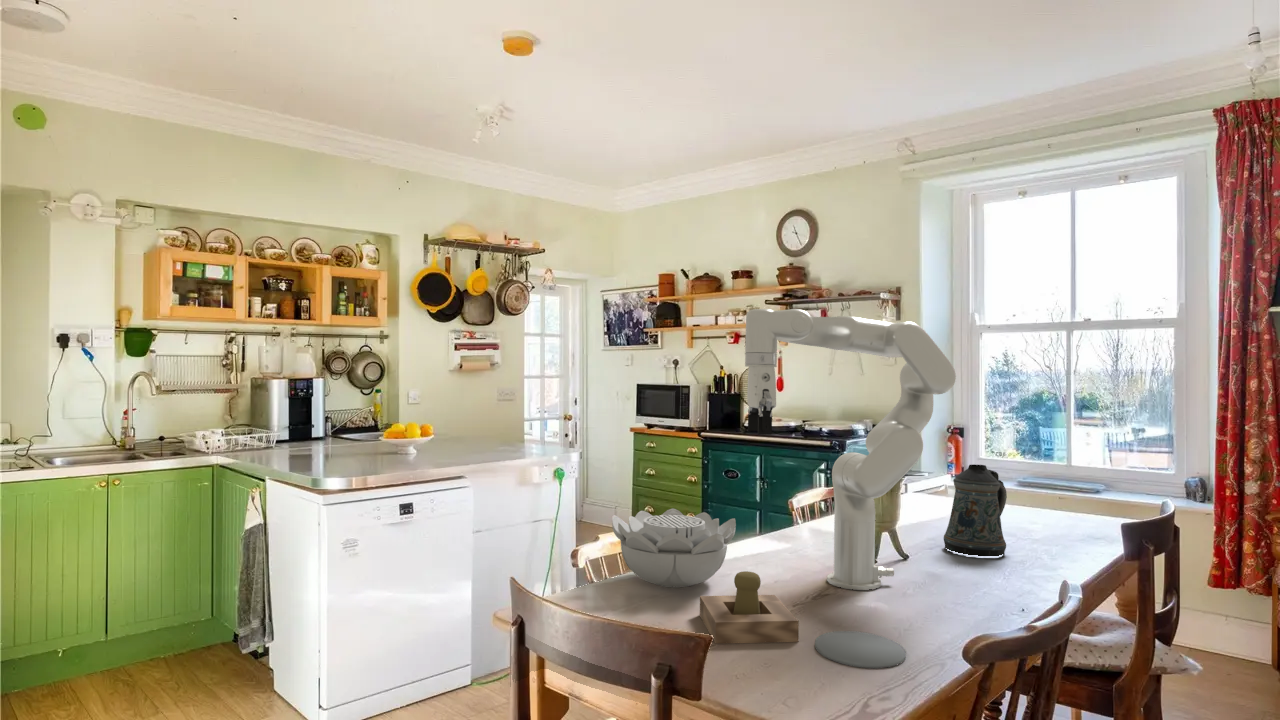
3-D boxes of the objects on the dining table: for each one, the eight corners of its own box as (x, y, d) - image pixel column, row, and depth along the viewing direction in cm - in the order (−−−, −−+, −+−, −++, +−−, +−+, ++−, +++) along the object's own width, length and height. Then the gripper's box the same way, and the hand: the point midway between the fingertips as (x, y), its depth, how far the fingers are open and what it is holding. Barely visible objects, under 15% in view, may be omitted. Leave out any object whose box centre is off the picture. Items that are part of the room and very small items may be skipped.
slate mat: (882, 634, 145) (882, 630, 145) (922, 667, 129) (922, 662, 129) (803, 635, 143) (803, 631, 143) (833, 669, 127) (833, 664, 127)
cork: (761, 634, 144) (762, 577, 144) (730, 631, 145) (731, 575, 145) (762, 624, 150) (763, 569, 150) (732, 621, 151) (733, 567, 151)
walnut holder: (774, 613, 156) (774, 594, 156) (798, 641, 140) (798, 620, 140) (699, 615, 154) (699, 596, 154) (715, 643, 138) (715, 622, 138)
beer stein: (937, 553, 211) (938, 465, 212) (952, 540, 227) (953, 459, 228) (1001, 562, 202) (1002, 471, 202) (1012, 549, 218) (1013, 464, 218)
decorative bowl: (760, 596, 168) (761, 530, 168) (635, 606, 159) (636, 536, 160) (710, 562, 197) (711, 506, 197) (602, 569, 188) (603, 510, 189)
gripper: (786, 360, 169) (785, 435, 169) (766, 361, 186) (765, 429, 186) (754, 360, 168) (752, 435, 168) (737, 360, 185) (735, 429, 185)
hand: (759, 432), depth 177 cm, fingers open, 9 cm apart
